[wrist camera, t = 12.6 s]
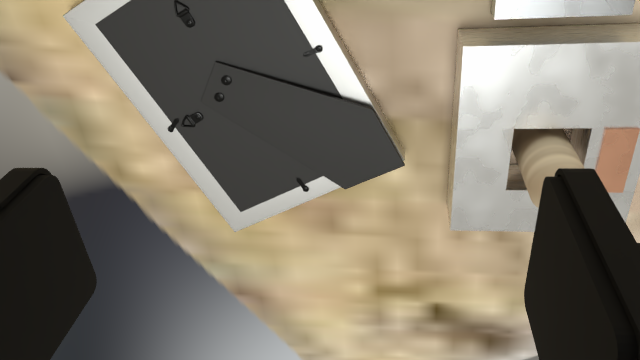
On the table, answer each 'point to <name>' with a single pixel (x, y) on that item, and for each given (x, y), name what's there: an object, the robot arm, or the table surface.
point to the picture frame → (245, 97)
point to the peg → (542, 156)
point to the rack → (542, 106)
